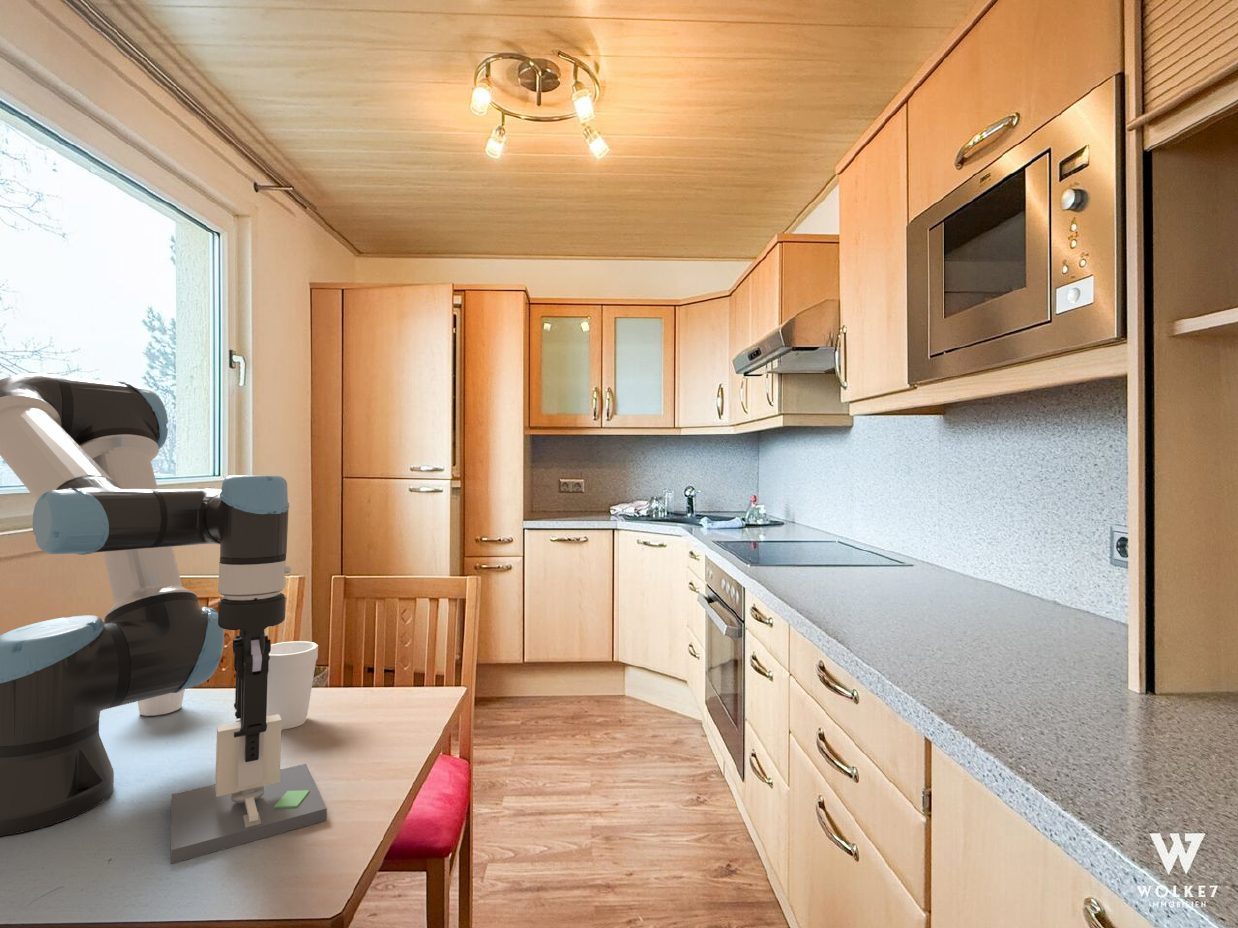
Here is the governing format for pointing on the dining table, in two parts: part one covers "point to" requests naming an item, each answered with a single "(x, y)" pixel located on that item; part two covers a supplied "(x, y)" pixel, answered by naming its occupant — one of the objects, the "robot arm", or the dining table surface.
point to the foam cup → (290, 681)
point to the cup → (161, 704)
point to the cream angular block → (229, 764)
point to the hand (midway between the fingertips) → (248, 776)
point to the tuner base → (242, 814)
